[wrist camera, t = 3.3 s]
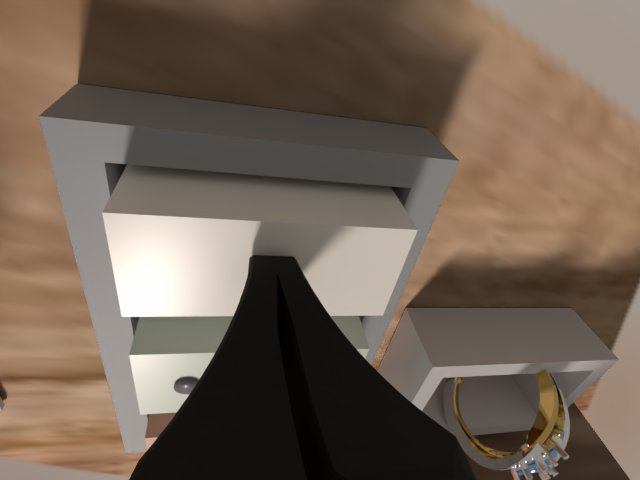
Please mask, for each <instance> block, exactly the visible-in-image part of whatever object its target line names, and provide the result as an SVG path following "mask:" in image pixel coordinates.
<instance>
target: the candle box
mask: <svg viewBox="0 0 640 480" xmlns="http://www.w3.org/2000/svg"><path fill="white" fill-rule="evenodd" d="M567 409H568V413H569V419H570V433H569V438H568V442H567V445H566V447H565V449H564V451H565V452H566V453H567V454H568V455H569V458H568V459H563V458H562V457H560V458H559V460H558V461H557V463H558V466H556V467H554V466H553V467H554V468H555V470H556V471H557V472H558V474H557V475H556V476H554V477H553V476H552V475H549V476H550V477H551V478H550V479H548V480H630V479H629V478H628V476H627V475H626V474H625V472H624V471H623V470H622V468H621V467H620V465H619V464H618V463H617V461H616V460H615V459H614V457H613V456H612V455H611V453H610V452H609V450H608V449H607V448H606V446H605V445H604V443H603V442H602V441H601V439H600V438H599V437H598V435H597V434H596V432H595V431H594V430H593V428H592V427H591V426H590V424H589V423H588V422H587V420H586V419H585V417H584V416H583V415H582V413H581V412H580V410H579V409H578V408H577V406H576V405H575V404H574V402H573V403H572V404H571V405H570V406H569V407H568V408H567ZM553 430H554V427H553V429H552V431H551V433H550V435H549V436H548V438H547V439H546V440H545V442H547V440H548V439H549V438H550V437H551V438H552V435H553ZM529 431H530V430H526V431H515V432H504V433H494V434H483V435H473V436H474V437H475V438H476V439H477V440H478V441H480V442H481V443H482V444H484V445H485V446H487V447H489V448H491V449H494V450H497V451H502V452H514V453H516V452H517V451H518V450H519V448H520V447H521V446H523V445H524V444H525V443H527V442H528V441H527V434H528V433H529ZM545 442H544V443H545ZM544 443H543V444H544ZM543 444H542V445H543ZM463 451H464V450H463ZM464 452H465V451H464ZM465 454H466V453H465ZM466 456H467V458H468V461H469V463H470V465H471V467H472V470H473V472H474V474H475V476H476V479H477V480H514V478H513V476H512V473H511V470H507V471H499V470H493V469H490V468H486V467H483V466H481V465H479V464H478V463H476V462H475V461H474V460H473V459H471V458H470V457H469V456H468V455H467V454H466ZM531 475H532V477H533V479H531V480H541V479H540V477H539V475H538V472H537V473H533V474H531ZM519 477H520V480H527V479H526V478H525V476H524V475H522V476H519Z"/></svg>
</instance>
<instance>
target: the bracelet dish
mask: <svg viewBox="0 0 640 480" xmlns="http://www.w3.org/2000/svg"><path fill="white" fill-rule="evenodd" d="M617 361H618V358H617V357H616V356H615V355H614V354H613V353H612V352H611V351H610V349H609V348H608V347H607V346H606V345H605V344H604V343H603V342H602V341H601V340H600V338H599V337H598V336H597V335H596V334H595V333H594V332H593V331H592V330H591V329H590V328H589V326H588V325H587V324H586V323H585V322H584V321H583V320H582V319H581V318H580V317H579V315H578V314H577V313H576V312H575V311H574V310H573V309H572V308H405V310H404V313H403V315H402V317H401V319H400V322H399V324H398V326H397V328H396V330H395V333H394V335H393V337H392V339H391V341H390V344H389V346H388V348H387V350H386V352H385V355H384V357H383V359H382V361H381V364H380V366H379V368H378V370H377V372H378V373H380V374H381V375H382V376H383V377H384V378H385V379H386V380H387V381H388V382H389V383H390V384H391V385H392V386H393V387H394V388H395V389H396V390H398V391H399V392H400V393H401V394H402V395H403V396H404V397H406V398H407V399H408V400H409V401H410V402H411V403H413V404H414V405H415V406H416V407H417V408H419V409H420V410H421V411H422V412H424V413H425V414H426V415H428V416H429V417H430V418H432V419H433V420H434V421H436V422H437V423H438V424H440V425H441V426H442V427H444V428H445V429H447V430H448V431H449V432H451V431H450V429H449V426H448V424H447V421H446V417H445V412H444V403H443V396H444V387H445V383H446V379H447V378H449V377H463V379H462V381H461V384H460V388H459V394H458V402H459V409H460V413H461V416H462V418H463V421H464V423H465V425H466V426H467V428H468V430H469V431H470V432H471V433H472V435H483V434H494V433H504V432H515V431H526V430H530V429H531V428H532V426H533V424H534V421H535V419H536V416H537V413H538V409H539V403H540V391H539V386H538V382H537V379H536V377H535V375H534V374H533V373H540V372H542V371H544V370H547V371H548V372H549V373H551V374H552V375H553V376H554V378H555V379H556V381H557V383H558V384H559V386H560V389H561V391H562V393H563V396H564V399H565V402H566V405H567V408H568V407H569V406H570V405H571V404H572V403H573V402H575V401H576V400H577V399H578V398H579V397H580V396H581V395H582V394H583V393H584V392H585V391H586V390H587V389H588V388H589V387H590V386H591V385H592V384H593V383H595V382H596V381H597V380H598V379H599V378H600V377H601V376H602V375H603V374H604V373H605V372H606V371H607V370H608V369H609V368H610V367H611V366H612V365H613V364H615V363H616V362H617Z"/></svg>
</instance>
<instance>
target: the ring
mask: <svg viewBox="0 0 640 480" xmlns="http://www.w3.org/2000/svg"><path fill="white" fill-rule="evenodd" d="M533 374H534V375H535V377H536V379H537V382H538V386H539V391H540V403H539V409H538V413H537V416H536V419H535V421H534V424H533V426H532V428H531V429H530V431H529V433H528V434H527V441H528V442H527V443H525V444H524V445H523V446H521V447H520V448H519V450H518V451H517V452H516V453H514V452H502V451H497V450H494V449H491V448H489V447H487V446H485V445H484V444H482V443H481V442H480V441H478V440H477V439H476V438H475V437H474V436H473V435H472V433H471V432H470V431H469V430H468V428H467V426H466V425H465V423H464V421H463V418H462V416H461V413H460V409H459V402H458V394H459V388H460V384H461V381H462V379H463V377H449V378H447V379H446V383H445V387H444V396H443V403H444V412H445V417H446V421H447V424H448V426H449V429H450V431H451V433H452V434H453V435H455V436H456V438H457V440H458V442H459V444H460V445H461V447H462V449H463V450H464V451H465V453H466V454H467V455H468V456H469V457H470V458H471V459H473V460H474V461H475V462H476V463H478V464H479V465H481V466H483V467H486V468H490V469H493V470H499V471H507V470H511V473H512V476H513V478H514V480H520V477H519V476H522V475H524V476H525V478H526V479H527V480H531V479H533V477H532V475H531V474H533V473H537V472H538V475H539V477H540V479H541V480H548V479H550V478H551V477H550V476H549V475H552V476H553V477H554V476H556V475H557V474H558V472H557V471H556V470H555V468H554V467H556V466H558V463H557V461H558V460H559V458H560V457H562V458H563V459H568V458H569V455H568V454H567V453H566V452H565V451H564V449H565V447H566V445H567V442H568V438H569V433H570V419H569V413H568V409H567V405H566V402H565V399H564V396H563V393H562V391H561V389H560V386H559V384H558V383H557V381H556V379H555V378H554V376H553V375H552V374H551V373H549V372H548V371H547V370H544V371H542V372H540V373H533ZM553 427H554V430H553V435H552V438H551V437H550V438H549V439H548V440H547V442H545V440H546V439H547V438H548V436H549V435H550V433H551V431H552V429H553ZM544 442H545V443H544ZM543 443H544V444H543ZM542 444H543V445H542ZM553 466H554V467H553Z"/></svg>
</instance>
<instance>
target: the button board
mask: <svg viewBox="0 0 640 480" xmlns="http://www.w3.org/2000/svg"><path fill="white" fill-rule="evenodd" d="M39 119H40V123H41V127H42V131H43V135H44V138H45V142H46V146H47V150H48V154H49V158H50V162H51V165H52V169H53V173H54V177H55V181H56V185H57V189H58V192H59V196H60V200H61V204H62V208H63V212H64V216H65V219H66V223H67V227H68V231H69V235H70V239H71V243H72V246H73V250H74V254H75V258H76V262H77V266H78V269H79V273H80V277H81V281H82V285H83V289H84V293H85V296H86V300H87V304H88V308H89V312H90V316H91V320H92V323H93V327H94V331H95V335H96V339H97V343H98V347H99V350H100V354H101V358H102V362H103V366H104V370H105V374H106V377H107V381H108V385H109V389H110V393H111V397H112V401H113V404H114V408H115V412H116V416H117V420H118V424H119V428H120V431H121V435H122V439H123V443H124V447H125V451H126V453H135V452H146V451H147V448H146V443H145V434H146V429H147V424H148V419H149V414H143V415H140V411H139V405H138V400H137V395H136V389H135V384H134V379H133V373H132V368H131V363H130V358H129V353H130V350H131V346H132V342H133V339H134V335H135V331H136V328H137V324H138V320H139V317H122V315H121V310H120V304H119V299H118V294H117V289H116V283H115V278H114V273H113V267H112V262H111V257H110V251H109V246H108V241H107V235H106V230H105V225H104V220H103V214H102V212H103V210H104V208H105V206H106V204H107V202H108V200H109V198H110V197H111V195H112V193H113V191H114V189H115V187H116V185H117V183H118V181H119V179H120V177H121V175H122V173H123V171H124V169H125V167H126V166H127V164H129V165H141V166H153V167H165V168H176V169H188V170H200V171H212V172H224V173H236V174H248V175H260V176H272V177H284V178H296V179H308V180H320V181H332V182H344V183H356V184H367V185H379V186H391V188H392V189H393V191H394V192H395V194H396V196H397V197H398V199H399V200H400V202H401V204H402V205H403V207H404V209H405V210H406V212H407V213H408V215H409V217H410V218H411V220H412V221H413V223H414V225H415V226H416V228H417V229H418V231H417V233H416V236H415V238H414V241H413V243H412V245H411V248H410V250H409V253H408V255H407V258H406V260H405V263H404V265H403V268H402V270H401V272H400V275H399V277H398V280H397V282H396V285H395V287H394V290H393V292H392V294H391V297H390V299H389V302H388V304H387V307H386V309H385V312H384V314H383V316H359V318H360V321H361V324H362V327H363V330H364V333H365V337H366V340H367V343H368V346H369V351H368V353H367V356H366V358H365V359H366V360H367V361H368V362H369V363H370V364H371V365H372V363H373V360H374V358H375V356H376V353H377V351H378V349H379V346H380V344H381V342H382V339H383V337H384V335H385V333H386V330H387V328H388V326H389V323H390V321H391V319H392V316H393V314H394V312H395V309H396V307H397V305H398V302H399V300H400V298H401V295H402V293H403V291H404V288H405V286H406V284H407V281H408V279H409V277H410V274H411V272H412V270H413V268H414V265H415V263H416V261H417V258H418V256H419V254H420V251H421V249H422V247H423V244H424V242H425V240H426V237H427V235H428V233H429V230H430V228H431V226H432V223H433V221H434V219H435V216H436V214H437V212H438V210H439V207H440V205H441V203H442V200H443V198H444V196H445V193H446V191H447V189H448V186H449V184H450V182H451V179H452V177H453V175H454V172H455V170H456V168H457V165H458V163H459V160H458V159H457V158H456V157H455V156H454V155H453V154H452V153H451V152H450V151H449V150H448V149H447V148H446V147H445V146H444V145H443V144H442V143H441V142H440V141H439V140H438V139H437V138H436V137H435V136H434V135H433V134H432V133H431V132H430V131H429V130H428V129H427V128H423V127H415V126H407V125H399V124H391V123H383V122H376V121H368V120H360V119H352V118H344V117H336V116H328V115H320V114H312V113H305V112H297V111H289V110H281V109H273V108H265V107H257V106H249V105H242V104H234V103H226V102H218V101H210V100H202V99H194V98H186V97H178V96H171V95H163V94H155V93H147V92H139V91H131V90H123V89H115V88H108V87H100V86H92V85H84V84H76V85H75V86H74V87H72V88H71V89H70V90H69V91H68V92H66V93H65V94H64V95H63V96H62V97H61V98H59V99H58V100H57V101H56V102H55V103H54V104H52V105H51V106H50V107H49V108H48V109H46V110H45V111H44V112H43V113H42V114H41V115H39Z"/></svg>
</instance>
